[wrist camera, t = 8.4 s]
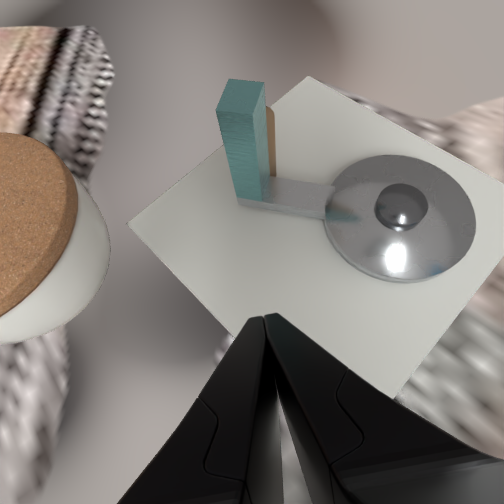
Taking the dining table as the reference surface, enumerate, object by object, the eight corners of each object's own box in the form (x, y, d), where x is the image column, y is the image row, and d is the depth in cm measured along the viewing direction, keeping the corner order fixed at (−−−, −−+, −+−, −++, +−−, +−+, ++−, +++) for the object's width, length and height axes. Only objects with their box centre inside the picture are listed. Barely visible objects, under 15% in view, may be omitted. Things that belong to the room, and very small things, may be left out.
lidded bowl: (56, 190, 29) (-66, 82, 19) (168, 241, 25) (92, 142, 15) (-49, 312, 25) (-279, 258, 15) (68, 392, 21) (-125, 392, 11)
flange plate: (468, 173, 24) (565, 58, 15) (468, 298, 20) (597, 233, 12) (258, 144, 27) (247, 35, 19) (224, 247, 23) (191, 167, 15)
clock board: (344, 452, 18) (378, 486, 12) (132, 230, 26) (82, 176, 20) (530, 213, 23) (626, 145, 17) (307, 86, 31) (313, 5, 25)
